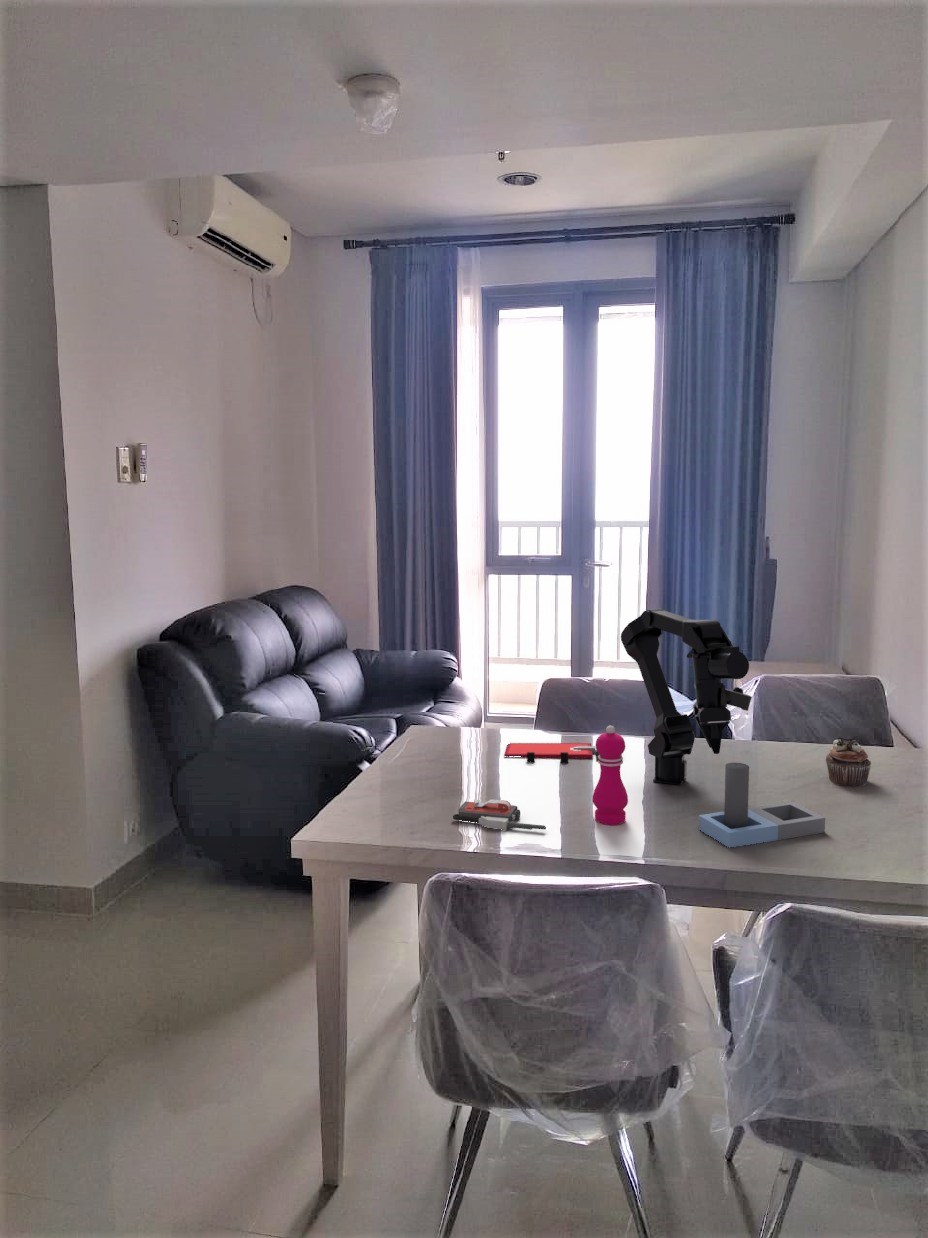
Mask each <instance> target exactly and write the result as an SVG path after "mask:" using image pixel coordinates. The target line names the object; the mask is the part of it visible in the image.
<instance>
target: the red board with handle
mask: <svg viewBox="0 0 928 1238" xmlns="http://www.w3.org/2000/svg"><path fill="white" fill-rule="evenodd" d="M509 743H510V744H508V745H507V744H506V748H505V751H504V753H503V754H504V755H503V756H521V757H527V758H526V762H527V763H535V762H536V760H535V759H560V763H561V764H569V759H593V755H595V758H596V760H597V759H598V756H599V755H600V754H599V753H598V752H597V750H596V745H592V743H591V742H590V743H589V742H587V743H586V742H583V743H582V742H577V743H576V742H567V743H566V742H560V743H559V742H509ZM621 756H622V757H623V753H622V754H621ZM598 760H599V759H598Z"/></svg>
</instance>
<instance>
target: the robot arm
mask: <svg viewBox="0 0 928 1238" xmlns="http://www.w3.org/2000/svg"><path fill="white" fill-rule="evenodd" d="M664 632H666V633H669V634H672V635H675V636H676V637H679V638H681V641H682V642H683V643H684V644H685V645H687V646H688V647H690V648H691V650H690V651H689V652H688V653H687V655H686V658H687V659H692V666H693V677H694V683H693V688H694V689H695V690H694V691H695V700H696V701H695V703H694V704H693V705H692V710H693V711H692V713H693V715H694V718H695V720H696V723H697V725H698V727H699V728H700V731H701V732H702V734H703V737H704V738H705V741H706V742H707V745H708V747H709V748H711V750H712V752H713V754H715V755H718V754H720V751H721V744H722V738H723V732H724V729H725V728H726V727H727V726H728V725H729V724H730V723H731V721H732V715H731V710H729V709H728V706H733V707H736V708H739V709H741V710H743V711H747V712H748V711H749V708H750V704H751V701H752V697H753V696H751V695H749V694H746V693H744V689H743V688H742V687H738V686H734V687H732V689H726V685H725V683H724V682H723V680H741V679H743V678H745V677H746V676H747V674H748V672H749V670H750V662H749V660H748V657H747V656H746V655H745V654H744V653H743V652H741V650H740V646H738V645H735V646H733V644H732V641H731V640H730V639H729V637H728V635H727V633H726V632H725V629H723V627H722V626H721V623H720V622H719V621H718V620H716V619H692V618H689V617H686V616H683V615H680V614H676V613H673V612H670V611H667V610H666V609H664V608H651V609H646V610H644V611H643V612H642V613H641V615H639V616H638V617H637V618H635V619H633V620H631V621H630V622H629V623H628V624H627V625H626V626H625V627H624V629H623V630H622V631H621V634H620V640H621V643H622V645H623V649H625V651H626V654H627V655H628V656H629V657H630V658H631V659H633V660H634V661H635V662H636V663H637V665H638V669H639V671H640V674H641V677H642V680H643V683H644V685H645V689H646V691H647V694H648V697H649V700H650V703H651V707H652V709H653V711H654V714H655V717H656V718H655V722H654V726H653V732H654V737H653V738H652V739H651V741H650V742H649V743H648V744H647V749H648V750H647V751H648V754H649V755H651V756H653V757H654V778H653V779H652V781H653V783H662V784H668V785H669V784H671V785H677V786H679V785H682V783H683V782H684V781H685V780H686V778H687V774H688V772H687V769H688V761H687V760H686V759H685V756H686V755H691V754H692V749H693V745H694V744H695V743H694V742H695V740H696V737H695V733H694V731H695V729H694V727H693V725H692V724H691V720H690V716H689V715H688V714H686V713H685V714H681V713H680V712H679V711H678V709H677V707H676V704H675V702H674V699H673V696H672V693H671V691H670V688H669V685H668V683H667V680H666V677H665V674H664V672H663V668H662V666H661V663H660V660H659V658H658V657H659V656H658V652H659V649H660V646H661V645H660V638H661V636H662V635H663V634H664Z"/></svg>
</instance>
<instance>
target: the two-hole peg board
mask: <svg viewBox="0 0 928 1238" xmlns="http://www.w3.org/2000/svg"><path fill="white" fill-rule="evenodd" d="M698 830H699V831H700V830H701V831H700V832H702V833H703V832H704V834H705V835H707V836H708V835H709V837H710V836H711V837H713V838H714V839H713V838H712V839H713V840H715V839H716V840H718V841H719V842H718V841H717V842H718V843H720V842H721V843H722V844H721V843H720V844H721V845H723V844H724V845H725V846H724V845H723V846H724V847H726V846H727V848H728V847H729V848H728V849H731V848H730V847H734V848H737V847H736V846H740V847H744V846H743V845H746V846H751V845H750V844H752V845H758V844H762V843H763V842H764V843H770V842H774V841H782V840H787V839H793V838H799V837H805V836H811V835H818V834H822V833H825V832H826V831H825V830H826V816H823V815H820V814H819V813H816V812H815V811H812V810H810V809H807V808H806V807H804V806H802V805H800V804H798V803H795V802H793V801H790V800H789V801H786V802H779V803H778V802H777V803H773V804H772V803H771V804H763V805H757V806H752V807H748V827H742V828H736V829H730V828H728V827H727V826H725V825H724V811H718V812H712V813H705V814H699V815H698ZM711 837H710V838H711ZM716 840H715V841H716ZM756 843H757V844H756Z"/></svg>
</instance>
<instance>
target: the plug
mask: <svg viewBox="0 0 928 1238" xmlns="http://www.w3.org/2000/svg"><path fill="white" fill-rule="evenodd" d="M724 767H725V771H724V772H725V773H724V811H723V812H724V825H725V826H727V827H728V828H730V829H736V828H742V827H748V808H749V794H750V793H749V790H750V789H749V786H750V785H749V784H750V783H749V782H750V766H749V765H748V764H746V763H744V762H743V763H741V762H728V763H726V764H725V766H724Z"/></svg>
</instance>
